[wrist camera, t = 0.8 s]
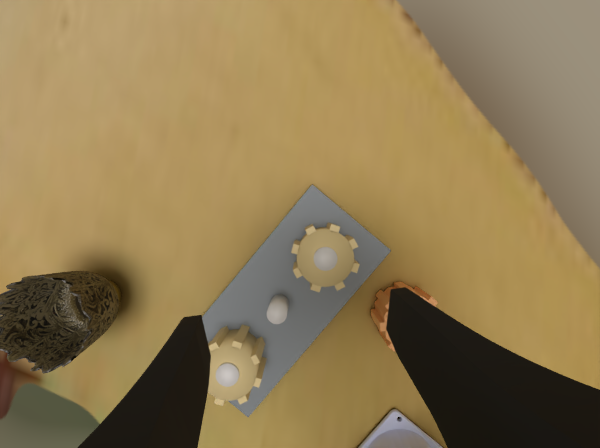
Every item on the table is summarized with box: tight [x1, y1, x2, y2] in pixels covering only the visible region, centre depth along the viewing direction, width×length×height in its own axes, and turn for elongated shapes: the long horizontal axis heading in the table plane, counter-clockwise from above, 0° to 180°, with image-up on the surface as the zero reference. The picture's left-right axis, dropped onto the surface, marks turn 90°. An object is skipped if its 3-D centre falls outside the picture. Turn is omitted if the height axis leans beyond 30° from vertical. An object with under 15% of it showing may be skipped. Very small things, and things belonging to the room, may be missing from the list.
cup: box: [0, 271, 122, 373], centre depth 26 cm, size 8×7×8 cm
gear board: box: [202, 185, 391, 417], centre depth 27 cm, size 10×22×5 cm, turn 140°
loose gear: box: [371, 282, 438, 352], centre depth 28 cm, size 6×6×4 cm
